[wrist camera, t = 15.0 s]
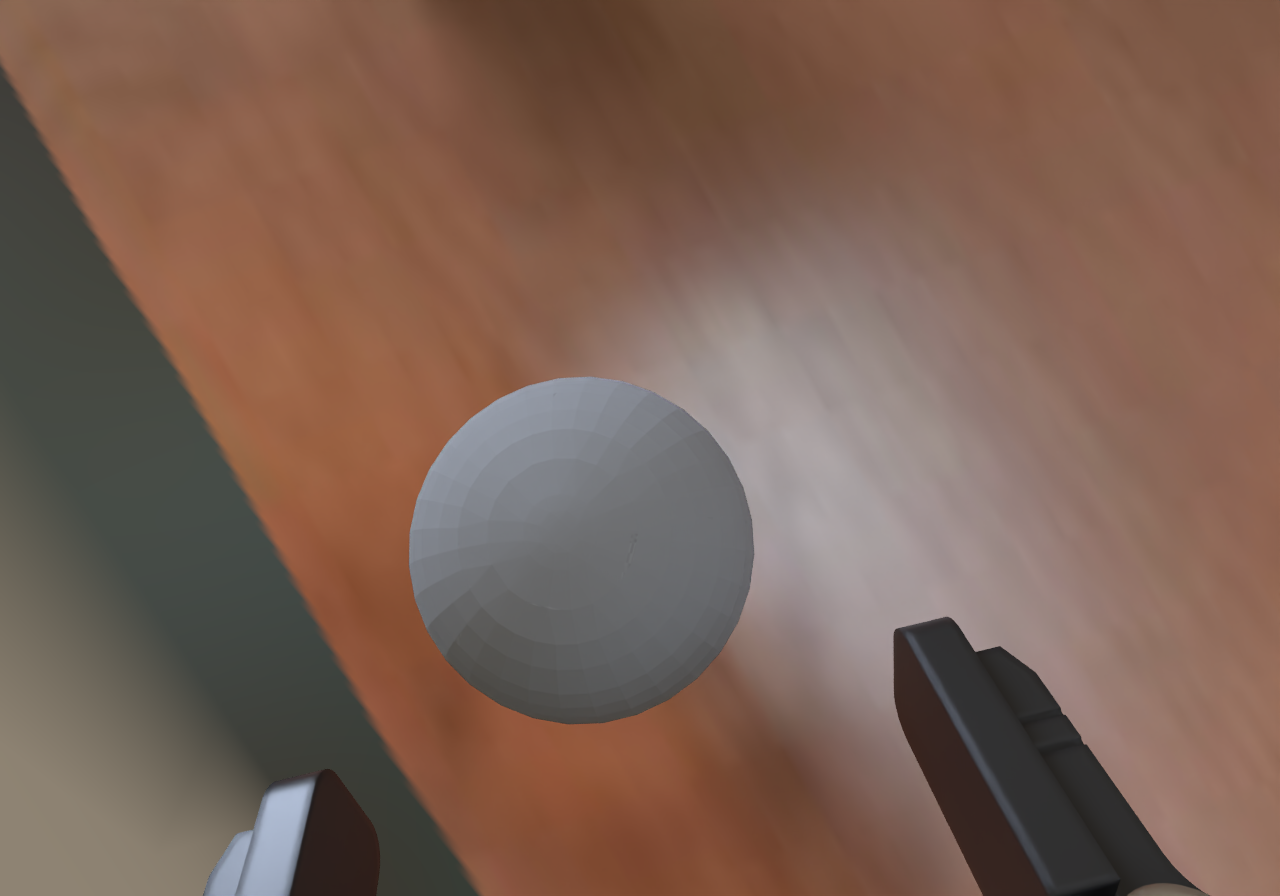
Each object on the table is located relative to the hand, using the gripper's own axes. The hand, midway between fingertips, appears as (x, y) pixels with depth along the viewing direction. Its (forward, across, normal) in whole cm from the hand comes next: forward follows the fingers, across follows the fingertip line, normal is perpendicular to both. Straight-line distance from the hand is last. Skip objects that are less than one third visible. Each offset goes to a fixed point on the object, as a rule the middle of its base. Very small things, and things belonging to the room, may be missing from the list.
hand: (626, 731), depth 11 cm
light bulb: (+9, 0, -5) cm, 10 cm away
